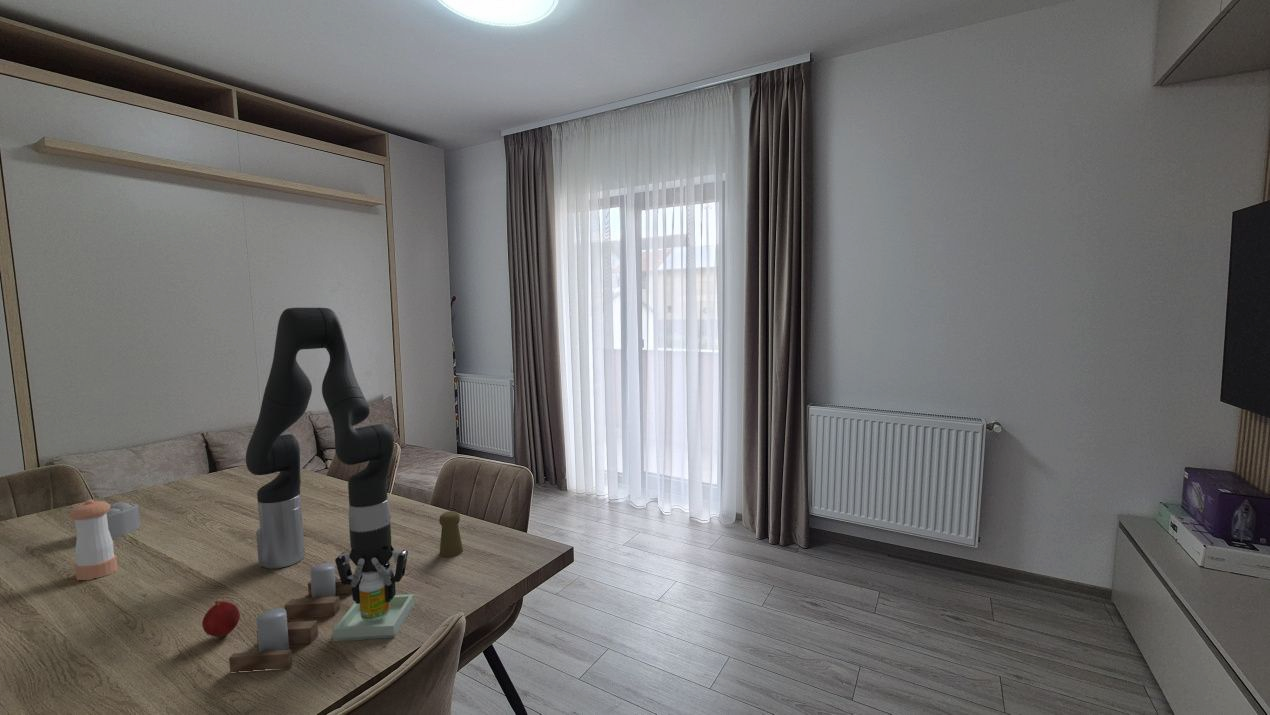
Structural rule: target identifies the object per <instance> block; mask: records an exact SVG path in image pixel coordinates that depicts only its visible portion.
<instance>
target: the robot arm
mask: <svg viewBox="0 0 1270 715" xmlns="http://www.w3.org/2000/svg"><path fill="white" fill-rule="evenodd" d="M279 316H280V317H279V320H278V323H277V330H276V334H275V336H276V337H275V343H274V344H275V345H274V352H273V358H272V362H271V363H272V364H271V367H270V371H269V375H268V378H267V382H266V385H265V388H264V392H263V396H262V401H261V406H260V410H259V411H260V412H259V415H258V419H257V422H256V425H255V427H254V429H253V433H252V435H251V436H250V440H249V441H248V445H247V448H246V453H245V465H246V468H247V470H248V472H250V473H251V474H252V475H255V476H265V475H271V474H274V473H279V474H277V476H276V477H274V479H272V480H271V481H269V482H268V483H265V484H264V485H262V486H260V487H259V488H258V490H257V492H256V496H257V498H256V499H257V510H258V519H259V520H258V521H259V522H258V523H259V528H258V529H257V530H256V531H255V534H256V535H255V536H256V537H255V538H256V549H257V558H258V559H257V561H258V567H263V568H266V569H281V568H286V567H288V566H289V567H290V566H293V565H294V564H297V563H299V562H301V561H302V560H303V559H304V558H305V557H306V552H305V551H306V550H305V539H304V538H305V536H304V525H303V524H304V523H303V522H304V521H303V511H302V498H301V497H302V495H301V482H302V481H301V479H302V478H301V450H300V449H301V448H300V445H299V441H298V438H297V437H296V436H294V434H289V433H287V434H283V433H284V432H285V431H286V430H288V429H290V427H291V426H293V425H294V424H295V423H297V421H298V420H299V419H301V417H302V416H303V415H304V414H305V413H306V411H307V408H308V406H309V402H310V398H311V395H312V392H313V389H312V388H313V387H312V383H311V381H310V379H309V377H308V376H307V374H306V373H305V371H304V370H303V369H302V368H301V366H300V365H299V363H298V360H297V355H298V353H299V352H300V351H301V350H315V349H326V351H327V353H328V355H329V363H328V367H327V369H326V370H325V371H326V372H325V374H324V377H323V379H322V384H321V394H322V398H323V401H324V403H325V406H326V408H327V410H328V412H329V415H330V417H331V420H332V426H333V430H334V431H333V432H334V449H335V451H334V452H335V455H336V457H337V459H338V460H339V461H340V462H342V463H343V464H344V465H348V466H353V465H358V464H361V463H367V462H368V463H367V465H366V467H365V468H363V469H362V470H360V471H358V472H357V473H354V474H353V475H351V476H350V477H349V479H348V480H347V482H348V483H347V491H348V505H349V507H348V509H349V510H348V524H349V525H348V526H349V527H348V528H349V543H350V548H351V550H350V552H348V553H347V552H344V551H342V552H341V553H340V554H339V555H338V556H337V557H336V558H335V560H334V561H335V567H336V569H337V572H338V575H339V576H338V577H339V579H340V580H341V583H342V584H343V585H346V584H348V585H351V587H352V593H351V595H352V600H353V601H354V603H355V602H356V604H360V596H359V584H360V583H361V581H362V580H363V579H362V571H363V572H369V571H373V572H378V573H379V575H380V577H382V578H383V579H384V581H385V583H386V585H385V597H386V602H390V601H391V600H392V599H393V597H394V596H395V595H396V593H397V590H396V589H397V588H396V583H399V582H401V580H402V579H403V577H404V576H405V573H406V566H407V561H408V553H409V551H408V550H407V549H402V550H396V549H394V546H393V545H392V529H391V528H392V527H391V519H392V516H391V512H390V511H391V510H390V504H389V500H388V484H387V481H388V480H387V479H388V473H389V469H390V464H391V460H392V457H393V453H394V448H395V447H394V446H395V438H394V434H393V432H392V431H391V429H390V428H389V427H388V426H386V425H384V424H379V423H378V424H372V425H368V426H362V427H357V428H354V426H356V425H358V424H361V423H362V422H364V421H365V420H366V419H367V418H369V416H370V414H371V413H370V407H369V404H368V401H367V400H366V398H365V396H364V394H363V391H362V390H361V387H360V385H359V383H358V381H357V377H356V375H355V373H354V368H353V365H352V362H351V356H350V353H349V349H348V345H347V343H346V339H345V338H346V337H345V334H344V330H343V327H342V325H341V321H340V320H339V318H338V315H337V314H336V312H335V311H334V310H332V309H330V308H328V307H290V308H285V310H283V311H282V313H281V314H280V315H279ZM392 557H393V558H394V563H396V567H395V571H394V569H393V564H392V563H391V558H392ZM350 562H353V564H354V565H355V566H356V567H355V570H354V572H353V571H352V568H351V565H350V564H351V563H350Z"/></svg>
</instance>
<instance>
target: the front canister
mask: <svg viewBox="0 0 1270 715" xmlns="http://www.w3.org/2000/svg"><path fill="white" fill-rule="evenodd" d="M255 620H256V630H257V631H256V633H257V632H258V639H257V645H258V644H259V646H258V652H262V651H278V650H290V644H289V640H288V628H287V622H288V619H287V615H286V610H285V608H273V609H270V610H267V611H264V612H262V613H260V614H259V615H258V616H257V617H256V619H255Z"/></svg>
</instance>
